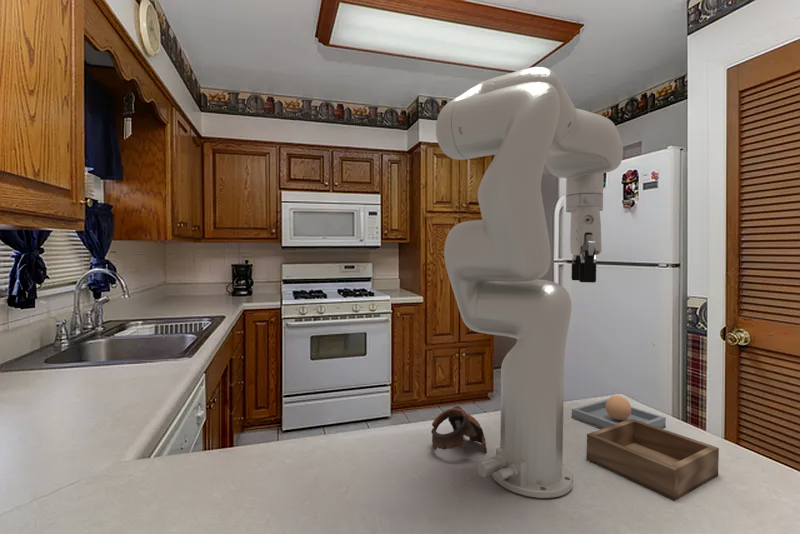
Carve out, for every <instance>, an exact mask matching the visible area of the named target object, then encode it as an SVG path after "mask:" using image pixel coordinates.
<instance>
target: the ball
mask: <svg viewBox="0 0 800 534" xmlns="http://www.w3.org/2000/svg"><path fill="white" fill-rule="evenodd" d="M607 399H608V400H607V401H606V404H605V409H606V411H607V413H608V415H609V416H610V417H612V418H613V419H616V420H625V419H627V418H628V417H629V416H630V414H631V407H632V405H631V403H630V402H629V401H628V400H627V399H626V398H625V397H623V396H620V395H613V396H610V397H609V398H607Z"/></svg>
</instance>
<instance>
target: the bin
mask: <svg viewBox="0 0 800 534" xmlns="http://www.w3.org/2000/svg"><path fill="white" fill-rule="evenodd" d="M719 453H720V448H719V447H717V446H715V445H711V444H709V443H707V442H703V441H700V440H697V439H695V438H691V437H688V436H685V435H683V434H682V435H681V434H678V433H676V432H673V431H670V430H666V429H664V428H662V429H661V428H658V427H655V426H652V425H649V424H646V423H643V422H640V421H637V420H634V419H630V420H627V421H624V422H621V423H618V424H615V425H612V426H609V427H606V428H603V429H600V428H599V429H598V430H595V431H592V432H589V433H587V434H586V460H587V461H588V462H590V463H593V464H595V465H597V466H599V467H601V468H603V469H606V470H607V471H610V472H612V473H614V474H616V475H618V476H621V477H622V478H625V479H627V480H629V481H631V482H633V483H635V484H637V485H640V486H642V487H643V488H646V489H648V490H650V491H653V492H654V493H657V494H659V495H661V496H663V497H664V498H668V499H670V500H672V501H674V502H675V501H676V500H679V499H680V498H682V497H684V496H685V495H687V494H688V493H690V492H692V491H694V490H696V489H697V488H699V487H700V486H703V485H704V484H706V483H708V482H709V481H711V480H713V479H715V478H716V477H718V476H719V462H720V461H719V460H720V459H719V458H720V457H719Z"/></svg>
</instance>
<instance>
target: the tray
mask: <svg viewBox="0 0 800 534" xmlns="http://www.w3.org/2000/svg"><path fill="white" fill-rule="evenodd" d="M608 399H609V398H607V399H602V400H599V401H595V402H592V403H587V404H585V405H582V406H581V405H580V406H578V407H573V408H571V418H572V419H573V420H576V421H579V422H581V423H584V424H587V425H589V426H592V427H595V428H598V429H599V430H600V429H603V428H606V427H609V426H612V425H615V424H618V423H621V422H624V421H627V420H630V419H634V420H637V421H640V422H643V423H646V424H649V425H652V426H655V427H658V428H661V429H664V428H666V427H667V426H666V425H667V423H666V421H667V420H666V417H665V416H663V415H660V414H659V415H658V414H656V413H652V412H651V411H650V412H649V411H646V410H643V409H639V408H638V407H633V406H631V414H630V416H629V417H628V418H627V419H625V420H616V419H613V418H612V417H610V416H609V415H608V413H607V411H606V409H605V404H606V401H607V400H608Z"/></svg>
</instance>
